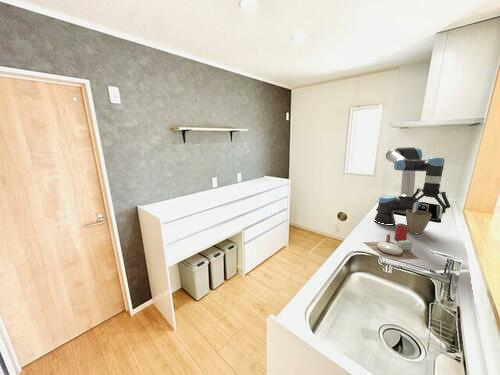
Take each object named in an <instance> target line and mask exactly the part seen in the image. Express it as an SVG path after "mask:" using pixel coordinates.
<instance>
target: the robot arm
mask: <svg viewBox="0 0 500 375" xmlns="http://www.w3.org/2000/svg"><path fill="white" fill-rule="evenodd" d="M385 158H386V160H387V161H388V162H391V163H393V168H394V170H395V171H402V172H401V173H402V174H401V187H400V194H399V195H398V197H397V196H395V195H391V194H390V195H389V194H388V195H382V196H380V197H379V199H378V204H377V205H378V206H377V212H376V215H375V217H374V219H375V220H376V221H377V222H380V223H384V224H395V225H396V220H395V219H396V218H395V213H402V214H406V210H413V211H412V212H413V213H414V212H415V211H416V210H419V206H420V201H419V200H421V199H422V198H424V197H425V198H431V199H432V198H434V199H435V200H436V201H437V203H438V204H439V205H440V206H441V207H440V209H439V210H440V211H439V214H438V219H440V220H441V219H442V218H443V214H446V210H447V209H449V208H451V204H450V201H449V199H448V197H447V192H446V191H440V189H441V188H440V187H441V182H442V177H443V171H444V166H445V158H444V157H429V158H428V159H423V152H422V149H421V148H420V147H409V146H407V147H393V148H391V149H389V150H388V151H387V152H386V154H385ZM416 172H425V175H424V176H425V178H424V183H423V188H420V187H418V188H416V191H415V184H416ZM420 192H422V194H421V195H419V194H420ZM418 195H419V196H418ZM439 195H440V196H441V197H440V196H439ZM417 196H418V197H417ZM441 198H442V199H441Z"/></svg>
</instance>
